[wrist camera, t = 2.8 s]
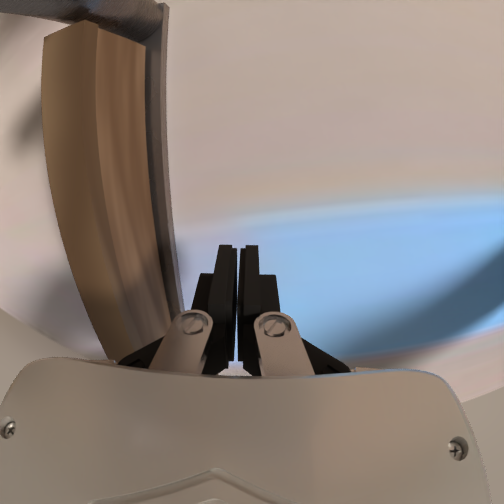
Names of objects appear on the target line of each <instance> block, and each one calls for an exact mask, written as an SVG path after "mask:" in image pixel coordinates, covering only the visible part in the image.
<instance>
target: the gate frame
mask: <svg viewBox="0 0 504 504" xmlns="http://www.w3.org/2000/svg"><path fill="white" fill-rule="evenodd" d="M0 12H2V13H11V14H19V15H25V16H32V17H37V18H42V19H47V20H52V21H57V22H61V23H65V24H69V25H73V24H75V23H78V22H80V21H83V20H87V21H90V22H93V23H96V24H98V25H99V26H98V28H100V29H102V30H105V31H108V32H111V33H114V34H116V35H119V36H122V37H124V38H127V39H129V40H132V41H134V42H136V43H139V44H141V45H144V46H146V49H145V126H146V146H147V161H148V173H149V184H150V194H151V203H152V212H153V220H154V227H155V235H156V242H157V248H158V255H159V261H160V267H161V273H162V278H163V284H164V289H165V294H166V299H167V304H168V309H169V314H170V318H171V323H172V321H173V319H174V318H175V317H176V316H177V315H178V314H180V313H181V312H184V311H185V309H184V303H183V296H182V290H181V283H180V276H179V269H178V261H177V253H176V245H175V236H174V227H173V217H172V207H171V195H170V182H169V167H168V149H167V122H166V60H167V35H168V19H169V7H168V6H167V5H166V4H165V3H159V4H158V3H157V2H155V1H154V0H0Z"/></svg>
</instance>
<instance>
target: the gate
mask: <svg viewBox="0 0 504 504" xmlns="http://www.w3.org/2000/svg"><path fill="white" fill-rule="evenodd" d="M98 26H99V25H98V24H96V23H93V22H90V21H87V20H83V21H80V22H78V23H75V24H73V25H70V26H68V27H66V28H63V29H61V30H59V31H57V32H54V33H52V34H50V35H48V36H46V37H44V45H43V56H42V77H41V103H42V125H43V137H44V147H45V156H46V163H47V170H48V177H49V183H50V188H51V194H52V199H53V203H54V208H55V213H56V217H57V221H58V225H59V229H60V233H61V237H62V240H63V244H64V248H65V251H66V254H67V258H68V261H69V264H70V267H71V270H72V273H73V276H74V279H75V282H76V285H77V287H78V290H79V293H80V296H81V298H82V301H83V303H84V306H85V308H86V311H87V313H88V316H89V318H90V320H91V323H92V325H93V327H94V330H95V332H96V334H97V336H98V339H99V341H100V343H101V345H102V347H103V349H104V351H105V353H106V355H107V357H108V359H109V360H115V362H119V361H120V360H121V359H123V358H124V357H126V356H127V355H129V354H131V353H133V352H135V351H137V350H139V349H141V348H143V347H145V346H146V345H148V344H150V343H152V342H154V341H156V340H158V339H159V338H161V337H163V336H165V334H166V333H167V331H168V329H169V327H170V325H171V318H170V314H169V309H168V304H167V299H166V294H165V289H164V284H163V278H162V273H161V267H160V261H159V255H158V248H157V242H156V235H155V227H154V220H153V212H152V203H151V194H150V184H149V173H148V161H147V146H146V126H145V49H146V46H144V45H141V44H139V43H136V42H134V41H132V40H129V39H127V38H124V37H122V36H119V35H116V34H114V33H111V32H108V31H105V30H102V29H100V28H98Z"/></svg>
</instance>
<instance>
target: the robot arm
mask: <svg viewBox="0 0 504 504" xmlns="http://www.w3.org/2000/svg"><path fill="white" fill-rule="evenodd" d="M236 314H237V333H238V361H243V369H245V370H246V371H247V372H249V373H250V374H251V375H252V376H223V375H218V373H219V372H221V371H222V370H224V369H228V364H229V361H234V349H235V331H236ZM0 504H492V500H491V494H490V489H489V484H488V479H487V475H486V470H485V467H484V463H483V460H482V457H481V454H480V450H479V447H478V445H477V441H476V438H475V435H474V432H473V430H472V427H471V425H470V422H469V420H468V418H467V415H466V413H465V411H464V409H463V407H462V405H461V403H460V401H459V399H458V397H457V396H456V394H455V392H454V391H453V389H452V388H451V387H450V385H449V384H448V383H447V382H446V381H445V380H444V379H443V378H441V377H440V376H438V375H435V374H433V373H429V372H425V371H420V370H413V369H376V368H363V367H355V370H353V369H349V368H348V367H347V366H346V365H345V364H344V363H342V362H340V361H339V360H337V359H335V358H334V357H332V356H330V355H329V354H327V353H325V352H324V351H322V350H320V349H319V348H317V347H316V346H314V345H312V344H311V343H309V342H307V341H306V340H304V339H303V338H301V337H300V334H299V331H298V329H297V326H296V324H295V322H294V320H293V319H292V318H291V317H290V316H288V315H286V314H284V313H281V312H280V304H279V296H278V288H277V281H276V275H259V254H258V245H246V248H241V251H240V267H239V283H238V299H237V248H232V245H219V249H218V254H217V259H216V264H215V269H214V274H210V273H201V274H200V277H199V280H198V284H197V288H196V292H195V296H194V300H193V304H192V308H191V310H187V311H184V312H181V313H180V314H178V315H177V316H176V317H175V318H174V319H173V321H172V323H171V325H170V327H169V329H168V331H167V333H166V334H165V336H163V337H161V338H159V339H158V340H156V341H154V342H152V343H150V344H148V345H146V346H145V347H143V348H141V349H139V350H137V351H135V352H133V353H131V354H129V355H127V356H126V357H124V358H123V359H121V360H120V361H119V362H115V360H84V359H78V358H68V357H51V358H43V359H39V360H35V361H33V362H31V363H29V364H27V365H26V366H25V367H24V368H23V369H22V370H21V371H20V372H19V374H18V375H17V377H16V378H15V380H14V381H13V383H12V384H11V386H10V388H9V390H8V391H7V393H6V395H5V397H4V399H3V401H2V403H1V405H0Z"/></svg>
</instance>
